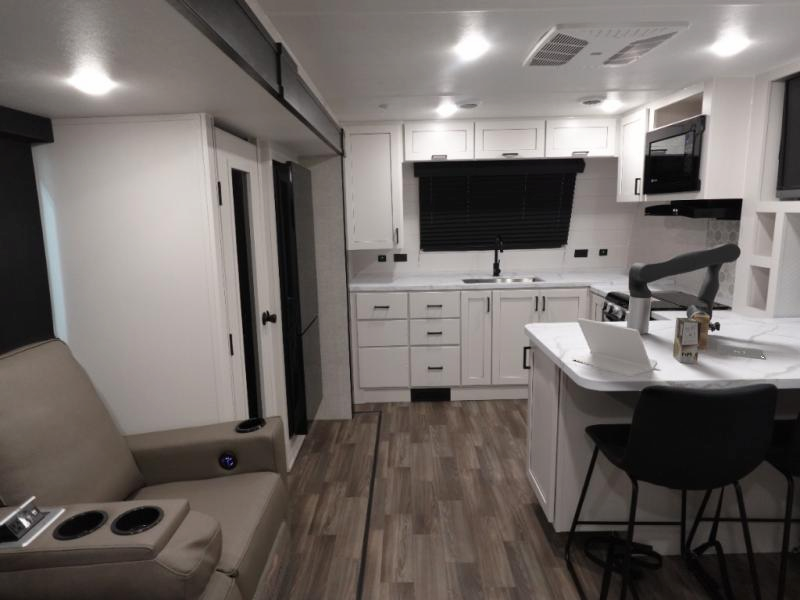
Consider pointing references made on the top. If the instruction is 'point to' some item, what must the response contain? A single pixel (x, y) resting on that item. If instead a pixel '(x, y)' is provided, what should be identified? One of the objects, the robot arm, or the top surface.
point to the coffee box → (686, 340)
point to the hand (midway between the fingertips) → (700, 328)
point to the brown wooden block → (703, 329)
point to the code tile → (741, 352)
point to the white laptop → (615, 348)
